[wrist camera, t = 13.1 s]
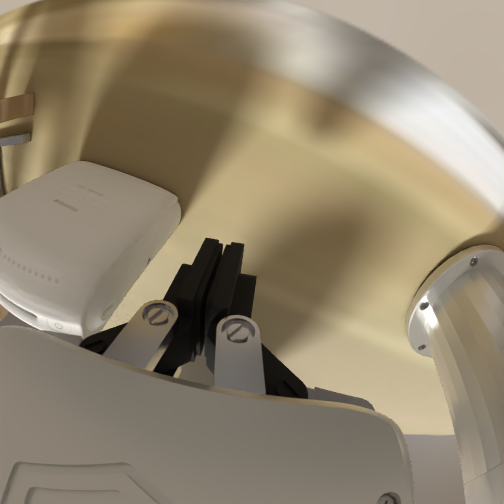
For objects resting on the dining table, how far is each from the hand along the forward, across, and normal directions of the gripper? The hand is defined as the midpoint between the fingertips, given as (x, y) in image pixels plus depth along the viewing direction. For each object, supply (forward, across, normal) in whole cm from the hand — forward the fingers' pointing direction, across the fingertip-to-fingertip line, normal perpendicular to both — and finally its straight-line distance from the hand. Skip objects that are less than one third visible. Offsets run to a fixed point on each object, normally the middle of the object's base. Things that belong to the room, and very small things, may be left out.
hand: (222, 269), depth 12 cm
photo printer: (+7, +9, 0) cm, 12 cm away
